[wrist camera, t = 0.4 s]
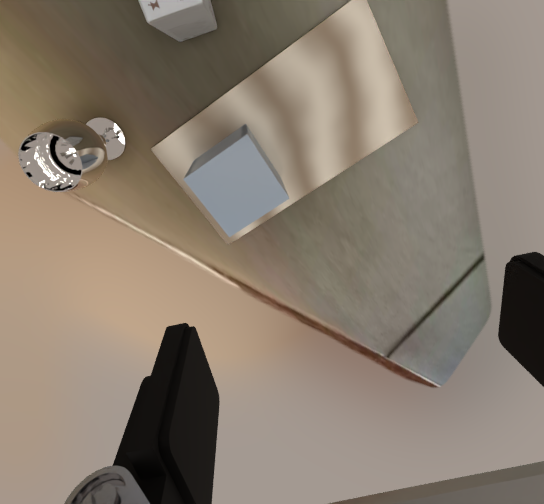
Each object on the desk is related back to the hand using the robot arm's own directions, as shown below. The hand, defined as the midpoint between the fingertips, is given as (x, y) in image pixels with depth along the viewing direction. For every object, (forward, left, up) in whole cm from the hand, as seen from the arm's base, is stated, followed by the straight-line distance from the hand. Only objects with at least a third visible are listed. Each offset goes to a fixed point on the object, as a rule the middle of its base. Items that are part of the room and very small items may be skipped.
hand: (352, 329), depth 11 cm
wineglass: (-15, -10, -33) cm, 37 cm away
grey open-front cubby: (-2, -4, -32) cm, 32 cm away
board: (+1, +2, -33) cm, 33 cm away
